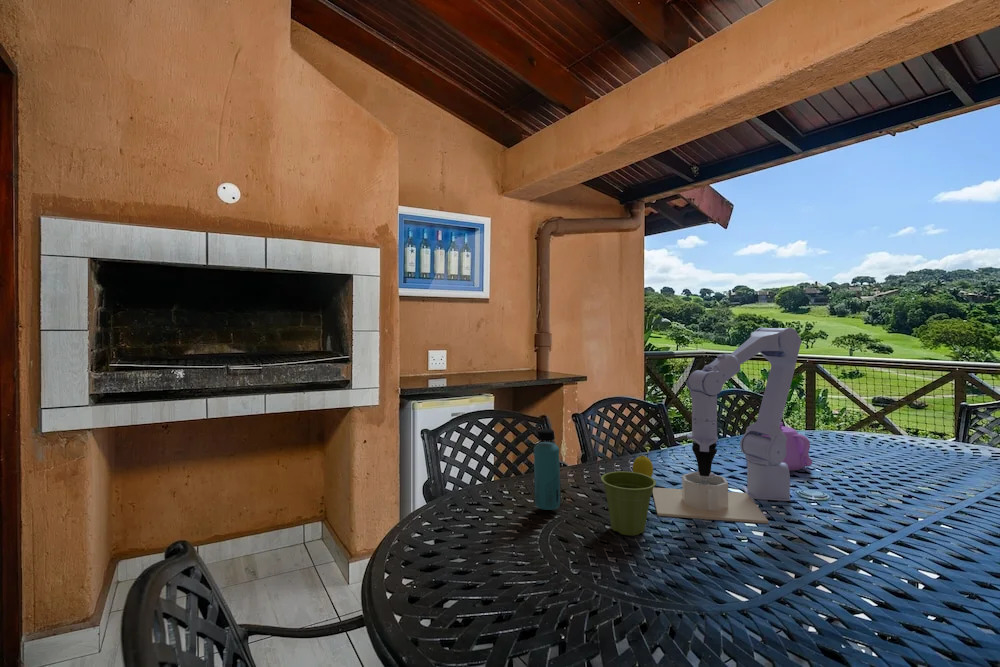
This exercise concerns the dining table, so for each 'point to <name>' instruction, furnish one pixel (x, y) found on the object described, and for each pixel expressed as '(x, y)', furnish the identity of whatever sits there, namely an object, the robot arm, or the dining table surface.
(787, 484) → the robot arm
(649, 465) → the lemon
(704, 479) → the lid
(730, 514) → the press stand
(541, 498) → the beverage bottle
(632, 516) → the plant pot
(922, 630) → the dining table surface
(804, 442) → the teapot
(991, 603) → the dining table surface
